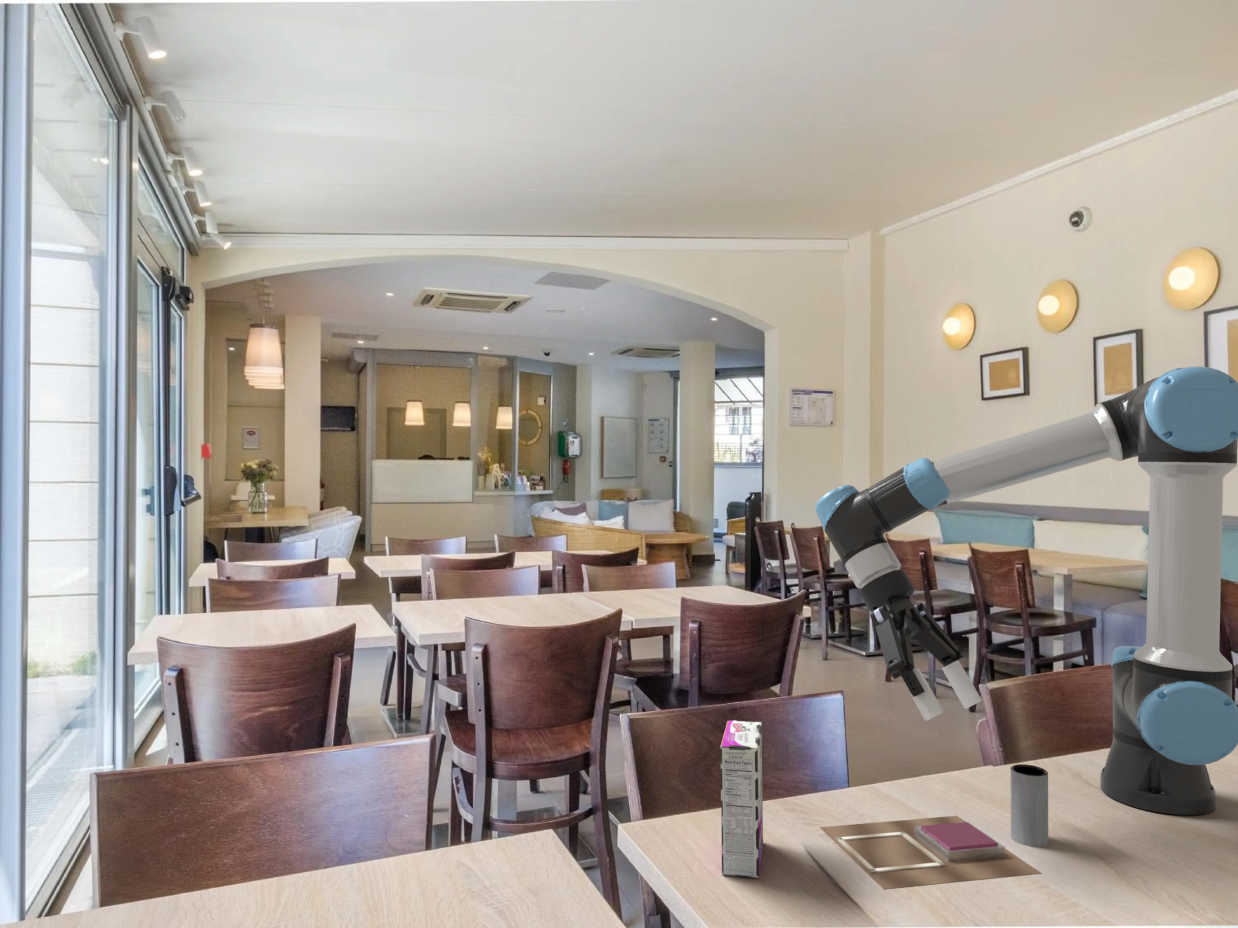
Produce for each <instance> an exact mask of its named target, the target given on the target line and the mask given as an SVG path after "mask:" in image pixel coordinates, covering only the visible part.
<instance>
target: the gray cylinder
mask: <svg viewBox="0 0 1238 928" xmlns="http://www.w3.org/2000/svg"><path fill="white" fill-rule="evenodd" d="M1010 838H1011V840H1013V841H1014V842H1015V843H1017V844H1020V845H1023V846H1027V847H1031V848H1032V847H1034V848H1042V847H1045V846H1048V845H1049V772H1048V771H1047V770H1046V769H1045V768H1042V767H1040V766H1037V765H1034V764H1033V765H1031V764H1013V765H1012V766H1010Z"/></svg>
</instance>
